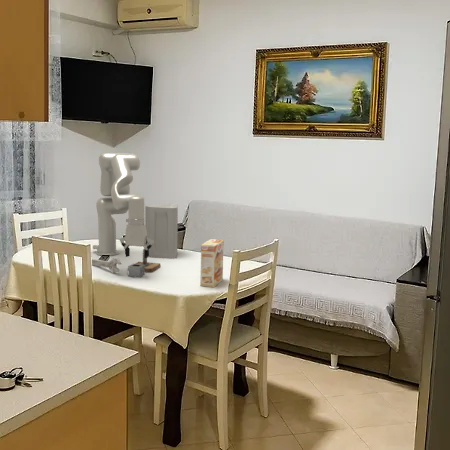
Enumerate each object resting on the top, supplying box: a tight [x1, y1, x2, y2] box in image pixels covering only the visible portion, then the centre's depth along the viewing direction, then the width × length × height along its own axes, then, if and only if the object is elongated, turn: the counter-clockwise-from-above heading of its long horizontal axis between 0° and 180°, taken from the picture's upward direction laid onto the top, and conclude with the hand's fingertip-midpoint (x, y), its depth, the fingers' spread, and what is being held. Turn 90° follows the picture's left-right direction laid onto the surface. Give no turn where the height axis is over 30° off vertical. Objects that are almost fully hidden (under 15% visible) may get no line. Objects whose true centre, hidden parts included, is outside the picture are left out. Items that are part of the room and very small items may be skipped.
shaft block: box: [134, 247, 161, 274], centre depth 298 cm, size 12×12×10 cm
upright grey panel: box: [144, 202, 179, 260], centre depth 326 cm, size 19×15×28 cm
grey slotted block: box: [127, 263, 146, 279], centre depth 286 cm, size 6×6×5 cm
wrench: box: [91, 257, 122, 274], centre depth 296 cm, size 8×2×30 cm
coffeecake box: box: [199, 238, 225, 288], centre depth 275 cm, size 15×7×20 cm, turn 164°
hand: (136, 257), depth 284 cm, fingers open, 9 cm apart
